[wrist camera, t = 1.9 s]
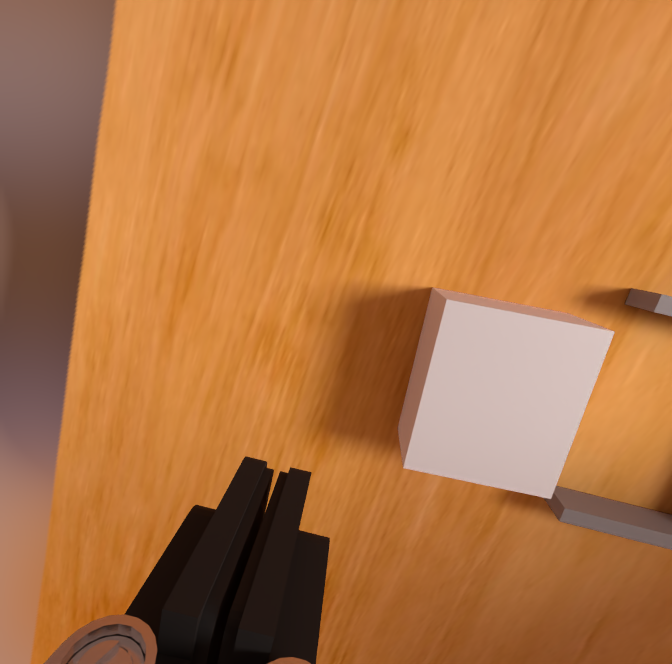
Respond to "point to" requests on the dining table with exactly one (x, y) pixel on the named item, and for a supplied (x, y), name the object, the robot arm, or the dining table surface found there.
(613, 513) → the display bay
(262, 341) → the dining table surface
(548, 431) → the carton
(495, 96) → the dining table surface
